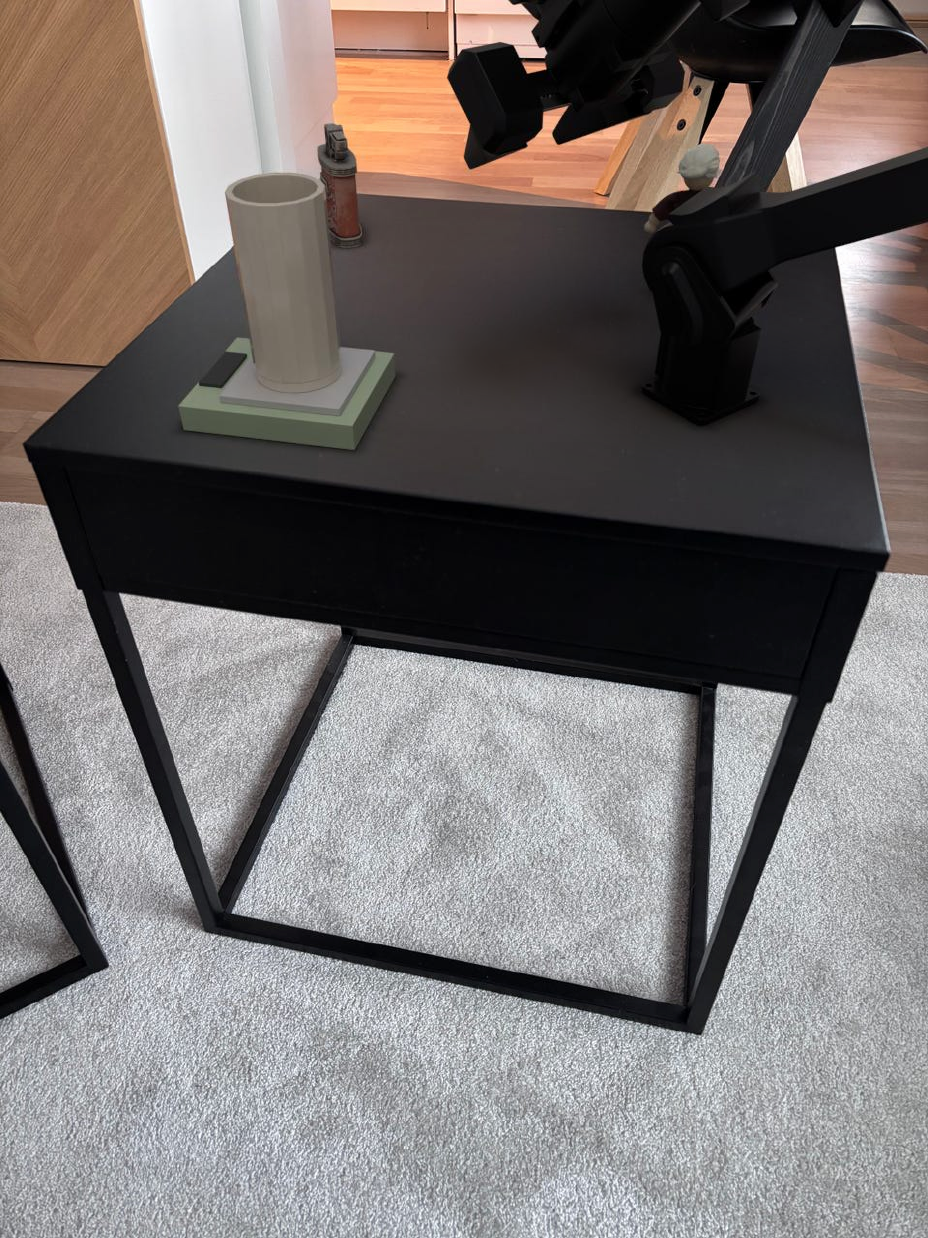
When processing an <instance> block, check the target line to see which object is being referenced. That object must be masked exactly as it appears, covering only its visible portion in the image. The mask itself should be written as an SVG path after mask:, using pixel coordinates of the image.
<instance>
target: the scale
mask: <svg viewBox="0 0 928 1238" xmlns="http://www.w3.org/2000/svg"><path fill="white" fill-rule="evenodd" d="M341 356H342V359H341V363H342V372H341V375H340V376H339V378H338V379H337V380H336V381H335V382H333V383H332V384H330V385H328V386H326V387H324V388H321V389H318V390H314V391H310V392H303V393H285V392H278V391H274V390H271V389H268V388H266V387H265V386H263V385H262V384H261V383H260V382H259V381H258V380H257V377H256V372H255V367H254V364H253V358H252V352H251V346H250V340H249V337H248V338H246V337H236V338H235V339H234V340H233V342H232V343H231V344H230V345H229V346H228V348H227V349H226V350H225V351H224V352H223V353H222V354H221V355H220V357H219V358H218V359H217V360H216V361H215V363H214V364H213V365H212V366H211V367H210V368H209V369H208V371H206V373H205V374H204V375H203V376H202V378H201V379H200V380H199V381H198V382H197V383H196V385H195V386H194V387H193V388H192V389H191V390H190V392H188V394H187V395H186V396H185V397H184V398H183V400H182V401H181V402H180V403H179V404H178V405H177V407H178V411H179V415H180V420H181V424H182V429H183V431H189V432H197V433H206V434H213V435H222V436H229V437H239V438H247V439H257V440H264V441H274V442H283V443H290V444H299V445H307V446H317V447H324V448H334V449H341V450H350V451H355V450H356V448H358V445H359V443H360V441H361V440H362V438H363V436H364V435H365V432H366V431H367V429H368V427H369V425H370V423H371V421H372V419H373V417H374V416H375V414H376V413H377V410H378V409H379V408H380V405H381V404H382V401H383V400H384V398H385V396H386V394H387V392H388V390H389V389H390V387H391V386H392V383H393V381H394V380H395V378H396V361H395V359H396V358H395V353H394V352H386V351H377V350H374V349H364V348H354V347H346V346H341Z"/></svg>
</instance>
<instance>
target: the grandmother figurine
mask: <svg viewBox="0 0 928 1238" xmlns="http://www.w3.org/2000/svg"><path fill="white" fill-rule="evenodd" d="M720 158H721V157H720V153H719V150H718V149H717V148H716V146H714V145H712V144H707V143H700V144H695V145H694V146H692V147H690V148H689V150H687V151H686V153H684V155H683V157H682V158H681V159H680V161H679V164H678V171H677V172H676V173H677V174H680V176H681V178H682V179H683V182H684V184H685V185H686V187H687V188H688V189H686V190H685V189H683V190H678V191H673V192H671V193H669V194H667V195H666V196H665V197H663V198H662V199H661V200H660V201H658V202H657V203H656V204H655V206H653V207H652V208H651V211H652V212H651V214H650V215H649V217H648V220H647V221H646V222H645V223H644V226H643V229H644V232H646V233H647V234H654V233H655V232H656V229H657V226H658V225H660V224H661V222H664V221H667V220H668V219H667V216H668V215H669V214H670V213H671V212H673V211H674V210H676V209H677V208H678V207H680V206H681V205H683V204H684V203H685V202H687V201H688V200H689V199H691V198H692V197H694V196H695V195H696V194H698V193H699V192H701V191H702V190H703V189H705V188H706V187H711V185H712V184H713V182H714V180H715V178H716V177H717V176H718V171H719V169H720V162H721V159H720ZM668 221H669V220H668Z"/></svg>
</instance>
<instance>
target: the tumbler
mask: <svg viewBox="0 0 928 1238" xmlns="http://www.w3.org/2000/svg"><path fill="white" fill-rule="evenodd" d="M224 196H225V201H226V209H227V213H228V219H229V226H230V232H231V237H232V238H231V239H232V243H233V249H234V250H233V251H234V256H235V263H236V267H237V273H238V279H239V280H238V281H239V285H240V291H241V297H242V303H243V309H244V316H245V322H246V329H247V333H248V339H249V340H250V346H251V352H252V358H253V364H254V367H255V372H256V377H257V380H258V381H259V382H260V383H261V384H262V385H263V386H265V387H266V388H268V389H271V390H274V391H278V392H285V393H303V392H310V391H314V390H318V389H321V388H324V387H326V386H328V385H330V384H332V383H333V382H335V381H336V380H337V379H338V378H339V376H340V375H341V372H342V363H341V359H342V356H341V347H342V346H341V337H340V327H339V326H340V325H339V316H338V305H337V296H336V285H335V284H336V283H335V276H334V275H335V274H334V264H333V263H334V262H333V254H332V243H331V239H330V233H329V222H328V212H327V202H326V192H325V185H324V184H323V183H322V182H321V180H320V178H317V177H314V176H312V175H309V174H305V173H298V172H267V173H266V172H265V173H259V174H253V175H250V176H246V177H243V178H240V179H237V180H235V181H233V182H232V183H230V184H228V186H227V188H226V189H225V191H224Z"/></svg>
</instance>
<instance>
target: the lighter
mask: <svg viewBox="0 0 928 1238" xmlns="http://www.w3.org/2000/svg"><path fill="white" fill-rule="evenodd" d="M323 130H324V131H323V132H324V141H325V143H323V144H320V145H318V146H317V149H316V151H317V161H318V163H319V166H320V172H319V180H321V182H322V183H323V184H324V185H325V192H326V202H327V212H328V222H329V233H330V242H331V241H332V243H333V244H335V245H336V246H337V247H340V248H343V249H344V248H345V249H348V248H349V249H350V248H356V247H359V246H362V244H363V232H362V230H363V229H362V226H361V224H360V217H359V206H358V205H359V204H358V191H357V180H356V174H357V173H358V164H357V157H356V155H355V153H354V152H353V151H352V150H351V149H350V148H349V147H348V145H349V144H348V138H347V137H346V136H345V132H344V129H343V125H342V124H336V123H333V122H332V123H331V122H330V123H324V124H323Z"/></svg>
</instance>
